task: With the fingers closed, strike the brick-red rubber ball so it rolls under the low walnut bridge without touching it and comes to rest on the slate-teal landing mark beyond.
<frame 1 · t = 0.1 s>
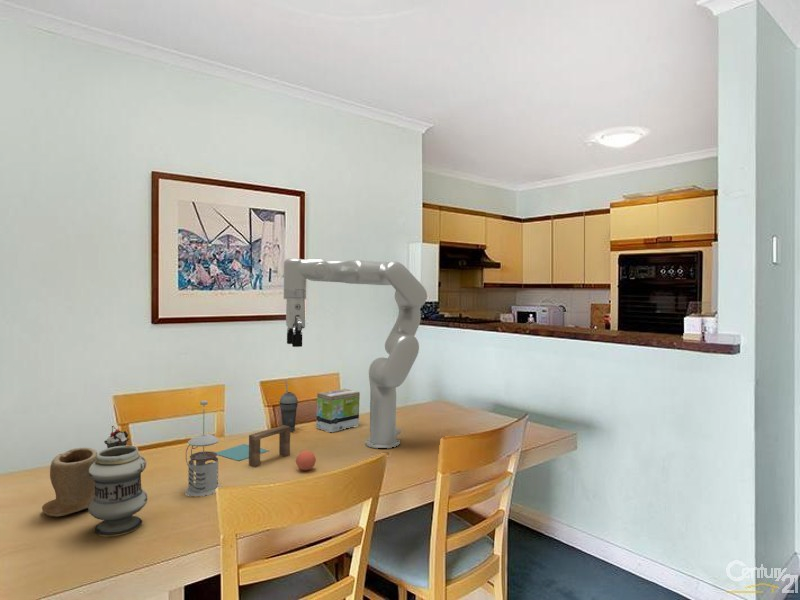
hand: (294, 345, 173), 37 cm above the table, tool pointing down, fingers open, 9 cm apart
french press: (201, 489, 142), on the table
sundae: (116, 474, 153), on the table
bridge: (270, 460, 167), on the table
tea box: (337, 428, 208), on the table
ball: (305, 460, 158), on the table
landing mark: (241, 452, 174), on the table
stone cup: (80, 509, 128), on the table
beverage cup: (288, 432, 201), on the table
apothecary jar: (118, 527, 119), on the table
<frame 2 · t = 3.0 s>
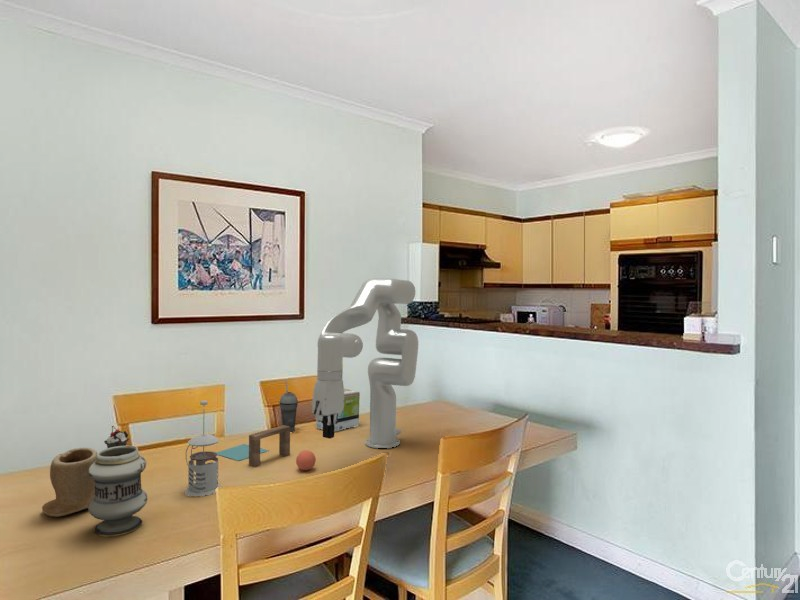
hand: (328, 437, 152), 12 cm above the table, tool pointing down, fingers closed
nothing on the table moved.
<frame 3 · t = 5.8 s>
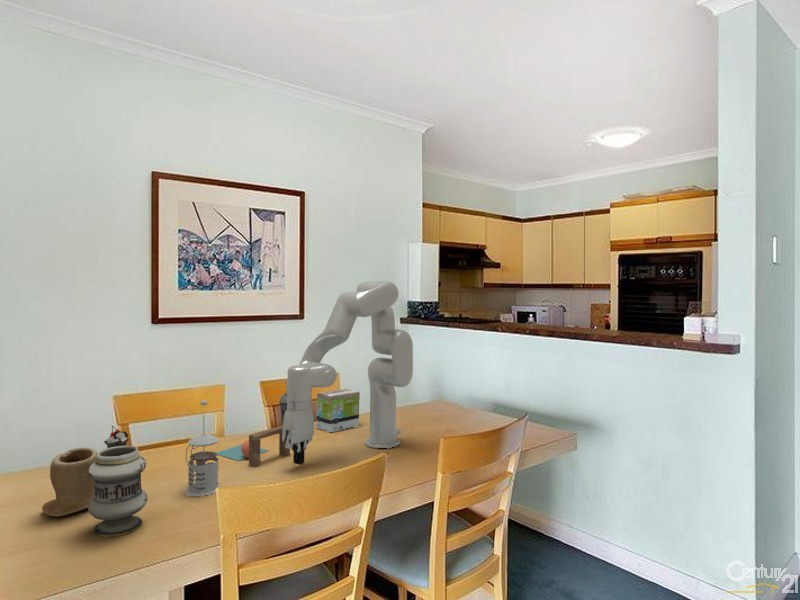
hand: (298, 463, 160), 2 cm above the table, tool pointing down, fingers closed
ball: (250, 448, 169), on the table
everything else where it was.
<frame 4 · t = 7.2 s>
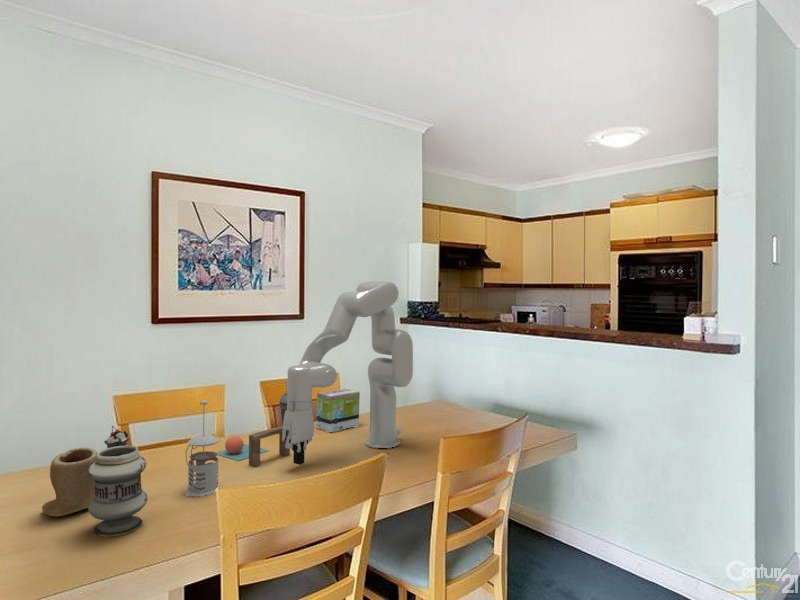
hand: (298, 463, 160), 2 cm above the table, tool pointing down, fingers closed
ball: (234, 444, 173), on the table
everything else where it was.
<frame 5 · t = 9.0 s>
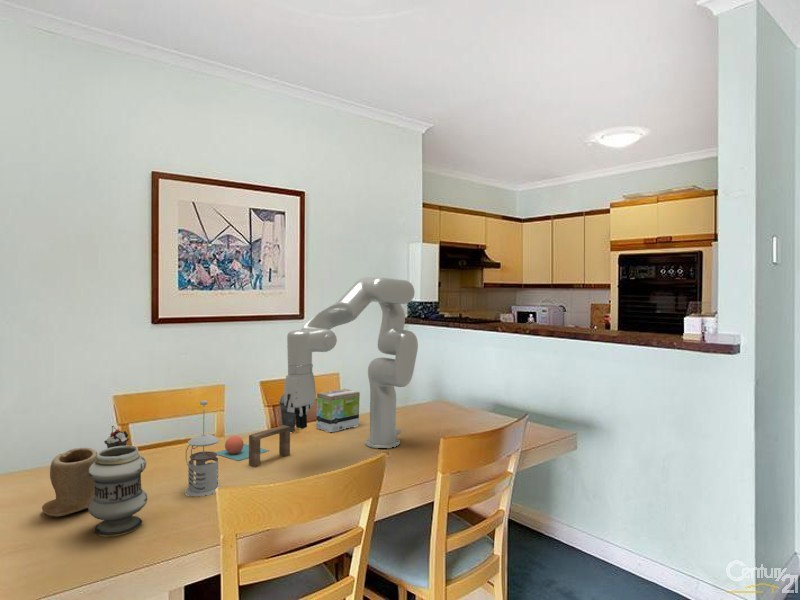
hand: (301, 427, 160), 13 cm above the table, tool pointing down, fingers closed
nothing on the table moved.
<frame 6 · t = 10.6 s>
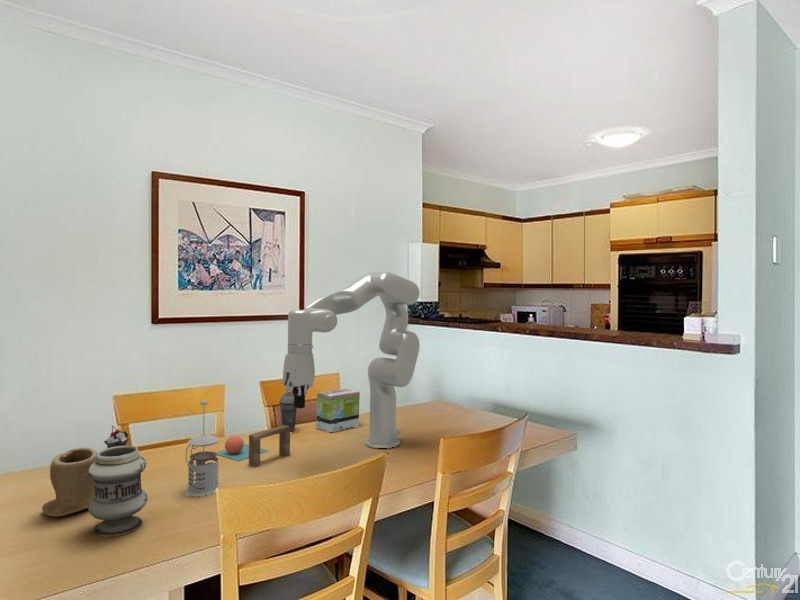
hand: (299, 407, 159), 19 cm above the table, tool pointing down, fingers closed
nothing on the table moved.
at the end: ball 2.5 cm from the landing mark (horizontally); ball never touched bridge; ball at rest at the end (0.0 cm/s) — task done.
